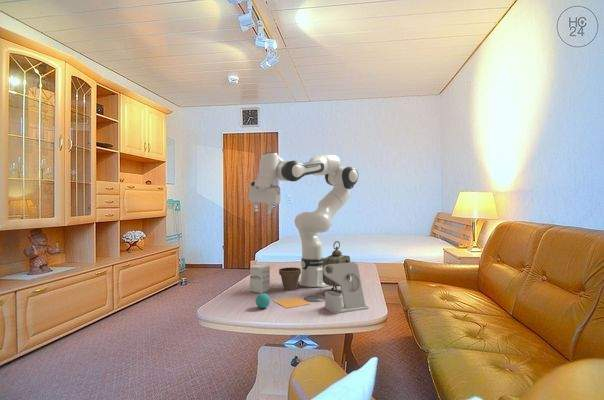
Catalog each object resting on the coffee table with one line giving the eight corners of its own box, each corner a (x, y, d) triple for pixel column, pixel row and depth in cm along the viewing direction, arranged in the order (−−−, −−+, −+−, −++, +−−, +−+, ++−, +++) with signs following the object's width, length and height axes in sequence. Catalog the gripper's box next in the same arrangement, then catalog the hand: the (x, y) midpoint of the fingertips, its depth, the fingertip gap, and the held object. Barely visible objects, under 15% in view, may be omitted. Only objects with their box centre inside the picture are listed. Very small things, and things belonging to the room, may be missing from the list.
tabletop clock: (338, 296, 156) (338, 242, 157) (321, 293, 161) (321, 241, 161) (350, 289, 169) (350, 240, 169) (334, 287, 173) (334, 239, 174)
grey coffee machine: (333, 313, 131) (333, 268, 131) (322, 306, 140) (322, 264, 141) (370, 308, 137) (370, 265, 138) (357, 302, 147) (357, 261, 147)
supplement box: (249, 291, 165) (249, 266, 165) (258, 288, 171) (258, 264, 172) (261, 293, 161) (261, 267, 162) (270, 290, 168) (270, 265, 168)
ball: (266, 304, 143) (266, 290, 143) (272, 308, 138) (272, 294, 138) (253, 307, 140) (253, 292, 140) (259, 310, 135) (259, 296, 135)
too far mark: (317, 294, 159) (317, 294, 159) (330, 299, 151) (330, 299, 151) (300, 297, 154) (300, 297, 154) (311, 303, 145) (311, 302, 145)
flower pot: (276, 286, 174) (276, 267, 175) (297, 285, 178) (297, 266, 178) (282, 292, 163) (281, 271, 164) (303, 290, 167) (303, 270, 167)
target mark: (297, 297, 154) (297, 296, 154) (310, 303, 144) (310, 303, 144) (273, 301, 148) (273, 300, 148) (286, 308, 138) (286, 308, 138)
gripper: (285, 186, 159) (281, 215, 159) (257, 184, 173) (253, 210, 172) (275, 184, 154) (271, 214, 154) (247, 182, 168) (244, 209, 168)
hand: (262, 212), depth 163 cm, fingers open, 8 cm apart
